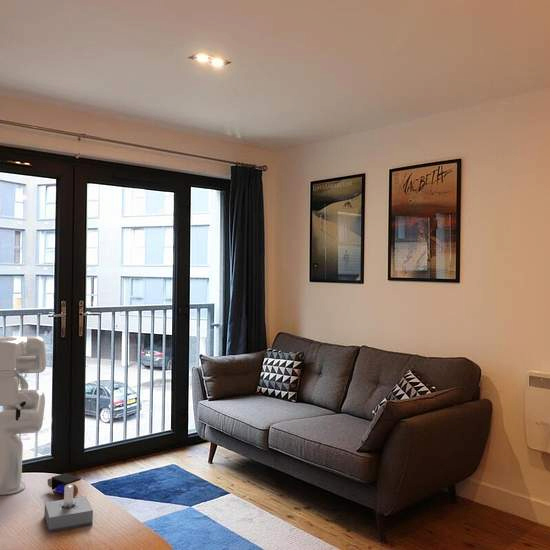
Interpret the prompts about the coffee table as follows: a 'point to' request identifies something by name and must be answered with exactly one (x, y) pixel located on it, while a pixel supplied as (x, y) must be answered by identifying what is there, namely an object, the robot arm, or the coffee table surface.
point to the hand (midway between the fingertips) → (2, 421)
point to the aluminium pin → (68, 496)
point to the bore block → (68, 514)
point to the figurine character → (63, 483)
